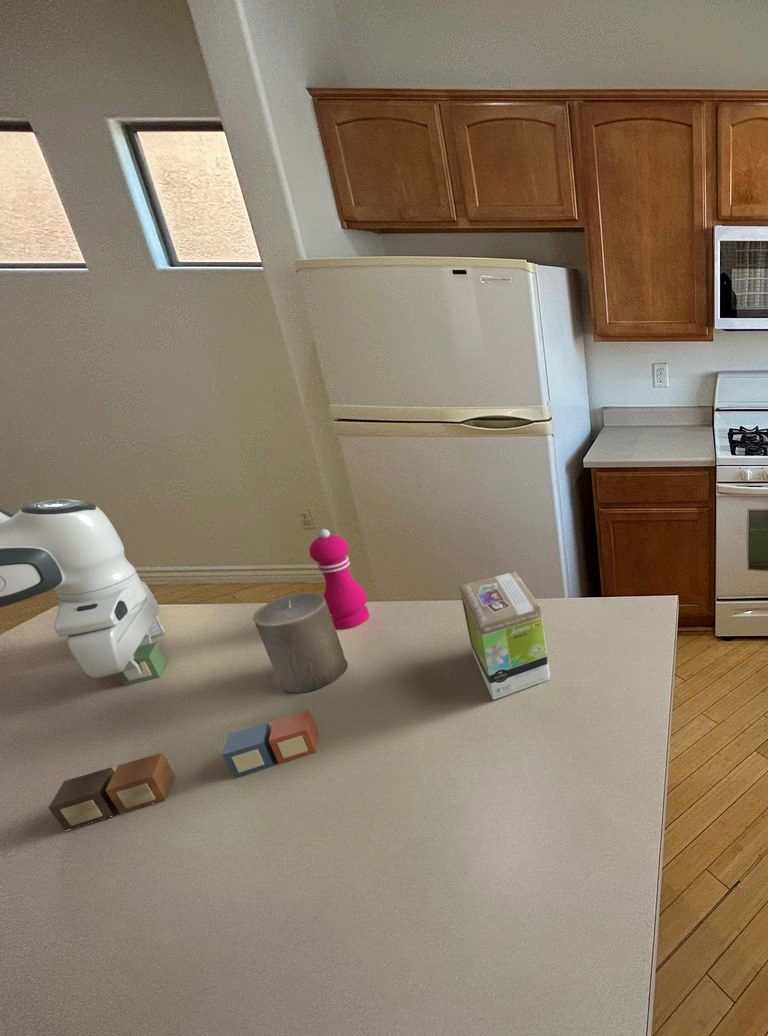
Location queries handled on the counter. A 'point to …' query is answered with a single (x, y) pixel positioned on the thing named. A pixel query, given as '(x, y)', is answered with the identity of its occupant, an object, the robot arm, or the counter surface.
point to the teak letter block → (140, 783)
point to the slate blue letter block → (249, 750)
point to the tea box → (505, 633)
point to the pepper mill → (339, 581)
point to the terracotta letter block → (293, 736)
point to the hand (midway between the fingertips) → (141, 665)
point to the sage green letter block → (147, 663)
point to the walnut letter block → (83, 800)
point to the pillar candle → (301, 641)
